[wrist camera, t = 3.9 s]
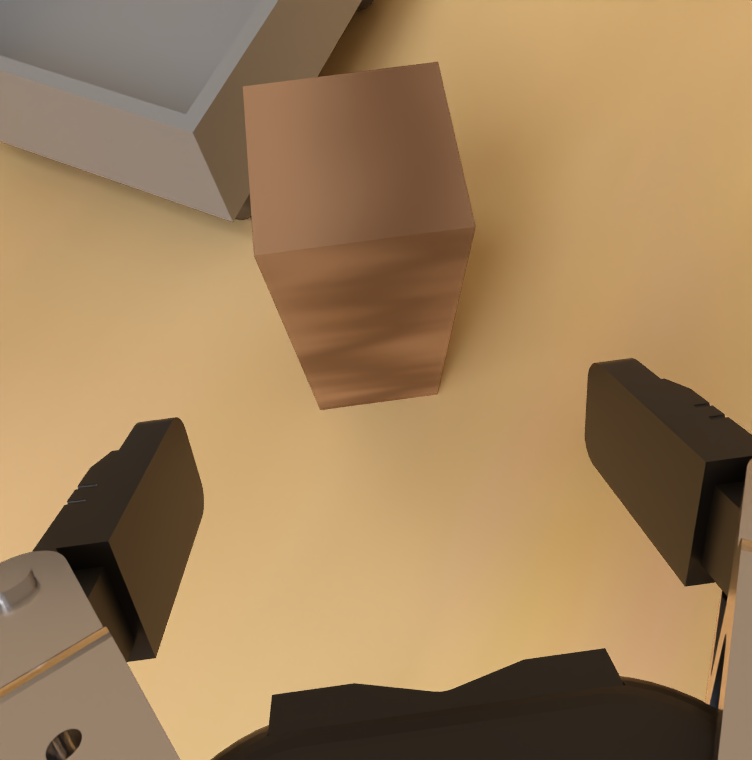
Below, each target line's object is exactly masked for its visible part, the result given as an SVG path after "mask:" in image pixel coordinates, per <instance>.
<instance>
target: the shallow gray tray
mask: <svg viewBox="0 0 752 760" xmlns="http://www.w3.org/2000/svg"><path fill="white" fill-rule="evenodd" d="M373 1H374V0H0V142H3V143H6V144H9V145H12V146H15V147H17V148H20V149H23V150H26V151H29V152H32V153H35V154H38V155H41V156H43V157H46V158H49V159H52V160H55V161H58V162H61V163H64V164H67V165H69V166H72V167H75V168H78V169H81V170H84V171H87V172H90V173H92V174H95V175H98V176H101V177H104V178H107V179H110V180H113V181H116V182H118V183H121V184H124V185H127V186H130V187H133V188H136V189H139V190H141V191H144V192H147V193H150V194H153V195H156V196H159V197H162V198H165V199H167V200H170V201H173V202H176V203H179V204H182V205H185V206H188V207H191V208H193V209H196V210H199V211H202V212H205V213H208V214H211V215H214V216H216V217H219V218H222V219H225V220H228V221H231V222H233V221H234V219H238V220H245V219H248V218H249V217H250V216H251V202H250V187H249V173H248V158H247V143H246V128H245V113H244V98H243V86H250V85H258V84H266V83H274V82H282V81H290V80H298V79H306V78H314V77H318V75H319V73H320V72H321V70H322V68H323V66H324V65H325V63H326V61H327V59H328V58H329V56H330V54H331V53H332V51H333V49H334V47H335V46H336V44H337V42H338V41H339V39H340V37H341V35H342V34H343V32H344V30H345V29H346V27H347V25H348V23H349V22H350V20H351V18H352V16H353V15H354V13H355V11H356V10H361V9H365V8H367V7H368V6H370V5H371V4H372V2H373Z"/></svg>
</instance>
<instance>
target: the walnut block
mask: <svg viewBox="0 0 752 760" xmlns="http://www.w3.org/2000/svg"><path fill="white" fill-rule="evenodd" d="M243 98H244V113H245V128H246V143H247V158H248V173H249V187H250V202H251V217H252V232H253V247H254V257H255V259H256V261H257V264H258V266H259V268H260V271H261V273H262V275H263V278H264V280H265V282H266V284H267V287H268V289H269V291H270V294H271V296H272V298H273V301H274V303H275V305H276V308H277V310H278V312H279V315H280V317H281V319H282V322H283V324H284V326H285V329H286V331H287V333H288V336H289V338H290V340H291V343H292V345H293V347H294V350H295V352H296V354H297V357H298V359H299V361H300V364H301V366H302V368H303V371H304V373H305V375H306V378H307V380H308V382H309V385H310V387H311V389H312V392H313V394H314V396H315V398H316V401H317V403H318V405H319V408H320V410H324V409H331V408H339V407H346V406H353V405H361V404H368V403H376V402H383V401H390V400H398V399H405V398H413V397H420V396H427V395H435V394H437V392H438V388H439V383H440V379H441V375H442V370H443V366H444V362H445V357H446V353H447V349H448V344H449V340H450V335H451V331H452V327H453V322H454V318H455V314H456V309H457V305H458V301H459V296H460V292H461V288H462V283H463V279H464V274H465V270H466V266H467V261H468V257H469V253H470V248H471V244H472V240H473V235H474V231H475V222H474V218H473V214H472V209H471V205H470V200H469V196H468V192H467V187H466V183H465V178H464V174H463V170H462V165H461V161H460V156H459V152H458V148H457V143H456V139H455V134H454V130H453V126H452V121H451V117H450V112H449V108H448V104H447V99H446V95H445V90H444V86H443V82H442V77H441V73H440V69H439V64H438V62H433V63H425V64H417V65H409V66H401V67H393V68H385V69H377V70H369V71H361V72H353V73H345V74H337V75H329V76H321V77H314V78H306V79H298V80H290V81H282V82H274V83H266V84H258V85H250V86H243Z"/></svg>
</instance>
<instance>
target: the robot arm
mask: <svg viewBox="0 0 752 760" xmlns="http://www.w3.org/2000/svg"><path fill="white" fill-rule="evenodd" d="M724 415H725V414H723V413H722V412H721V411H719V410H718V409H717V408H715V407H714V406H710V405H709V402H707V401H706V400H705V399H703V398H702V397H701V396H699V395H698V394H697V393H695V392H694V391H693V390H691V389H689V388H687V387H684V386H682V385H679V384H677V383H674V382H672V381H669V380H667V379H660V378H659V377H658V376H656V375H655V374H654V373H653V372H651V371H650V370H649V369H647V368H646V367H645V366H644V365H642V364H641V363H640V362H639V361H637V360H636V359H634V358H629V359H622V360H614V361H606V362H599V363H594V364H592V365H591V367H590V369H589V373H588V385H587V403H586V421H585V442H586V448H587V451H588V455H589V457H590V460H591V462H592V463H593V465H594V466H595V468H596V469H597V470H598V472H599V473H600V474H601V476H602V477H603V478H604V479H605V481H606V482H607V483H608V485H609V486H610V487H611V489H612V490H613V491H614V493H615V494H616V495H617V497H618V498H619V499H620V501H621V502H622V503H623V505H624V506H625V507H626V509H627V510H628V511H629V513H630V514H631V515H632V517H633V518H634V519H635V521H636V522H637V523H638V525H639V526H640V527H641V529H642V530H643V531H644V533H645V534H646V535H647V537H648V538H649V539H650V541H651V542H652V543H653V544H654V546H655V547H656V548H657V550H658V551H659V552H660V554H661V555H662V556H663V558H664V559H665V560H666V562H667V563H668V564H669V566H670V567H671V568H672V570H673V571H674V572H675V574H676V575H677V576H678V578H679V579H680V580H681V582H682V583H683V584H684V586H692V585H700V584H707V583H714V582H716V583H717V585H718V586H719V587H720V588H721V589H722V592H721V596H720V601H719V606H718V613H717V620H716V627H715V635H714V642H713V649H712V656H711V663H710V670H709V677H708V684H707V692H706V698H705V702H703V701H701V700H699V699H697V698H695V697H692V696H690V695H687V694H685V693H682V692H680V691H678V690H675V689H672V688H669V687H666V686H663V685H659V684H656V683H653V682H649V681H644V680H639V679H635V678H630V677H622V676H619V674H618V672H617V670H616V668H615V666H614V665H613V663H612V661H611V659H610V657H609V655H608V653H607V651H606V649H605V648H604V649H597V650H590V651H582V652H575V653H568V654H561V655H554V656H547V657H540V658H533V659H525V660H522V661H520V662H517V663H515V664H512V665H510V666H507V667H505V668H503V669H500V670H498V671H495V672H493V673H490V674H488V675H486V676H483V677H481V678H478V679H476V680H473V681H471V682H468V683H466V684H464V685H461V686H459V687H456V688H454V689H451V690H448V691H443V692H431V691H422V690H412V689H403V688H393V687H384V686H374V685H364V684H355V683H354V684H347V685H340V686H333V687H326V688H319V689H311V690H304V691H297V692H290V693H283V694H276V695H272V701H271V711H270V720H269V725H268V726H266V727H263V728H261V729H258V730H256V731H254V732H253V733H251V734H249V735H247V736H245V737H243V738H241V739H240V740H238V741H236V742H235V743H233V744H232V745H230V746H229V747H227V748H226V749H224V750H223V751H221V752H220V753H219V754H217V755H216V756H215V757H214V758H212V759H211V760H752V435H751V434H750V433H749V432H747V431H746V430H745V429H743V428H742V427H741V426H739V425H738V424H737V423H735V422H734V421H733V420H731V419H730V418H729V417H728V418H725V416H724ZM67 502H68V504H67V505H64V507H63V508H62V510H61V511H60V512H59V514H58V515H57V517H56V518H55V520H54V521H53V522H52V524H51V525H50V527H49V528H48V530H47V531H46V533H45V534H44V535H43V537H42V538H41V540H40V541H39V543H38V544H37V546H36V547H35V548H34V550H33V551H32V552H29V553H25V554H21V555H19V556H16V557H13V558H10V559H8V560H6V561H4V562H1V563H0V760H180V758H179V756H178V755H177V753H176V751H175V749H174V747H173V745H172V744H171V742H170V740H169V738H168V736H167V735H166V733H165V731H164V729H163V727H162V726H161V724H160V722H159V720H158V718H157V717H156V715H155V713H154V711H153V709H152V708H151V706H150V704H149V702H148V700H147V699H146V697H145V695H144V693H143V691H142V690H141V688H140V686H139V684H138V682H137V681H136V679H135V677H134V675H133V673H132V671H131V670H130V668H129V666H128V664H127V662H130V661H137V660H144V659H152V658H156V656H157V652H158V649H159V646H160V643H161V640H162V637H163V634H164V631H165V628H166V625H167V622H168V619H169V616H170V613H171V610H172V607H173V604H174V601H175V598H176V595H177V592H178V589H179V585H180V582H181V579H182V576H183V573H184V570H185V567H186V564H187V561H188V558H189V555H190V552H191V549H192V546H193V543H194V540H195V537H196V534H197V531H198V528H199V525H200V522H201V518H202V515H203V509H204V495H203V488H202V483H201V480H200V477H199V473H198V470H197V466H196V463H195V460H194V456H193V453H192V450H191V446H190V443H189V440H188V436H187V433H186V430H185V427H184V424H183V423H182V421H181V420H180V419H179V418H177V417H176V418H168V419H161V420H153V421H146V422H139V423H137V424H136V425H135V426H134V428H133V429H132V431H131V432H130V434H129V435H128V437H127V439H126V440H125V442H124V443H123V445H122V446H121V448H120V449H119V450H116V451H111V452H110V453H109V454H108V455H106V456H105V457H104V458H103V459H101V460H100V461H99V462H97V463H96V464H95V465H94V466H92V467H91V468H90V469H89V471H88V472H87V474H86V475H85V476H84V478H83V479H82V481H81V482H80V484H79V485H78V489H77V490H75V491H74V492H73V494H72V495H71V497H70V498H69V499H68V501H67Z"/></svg>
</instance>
